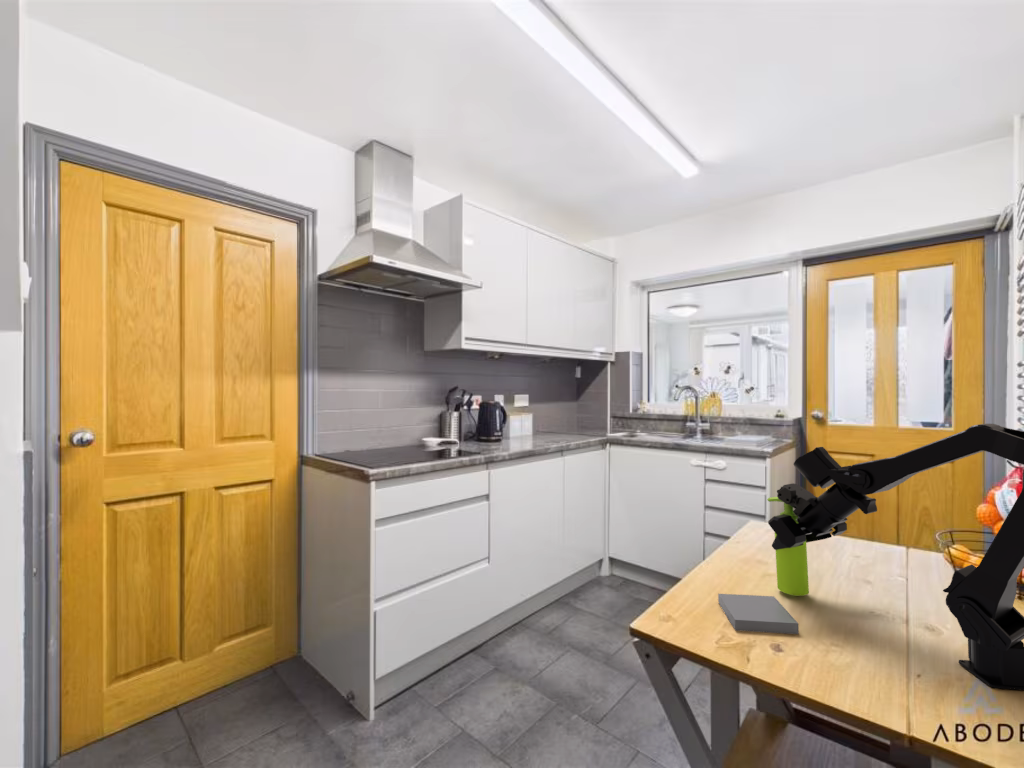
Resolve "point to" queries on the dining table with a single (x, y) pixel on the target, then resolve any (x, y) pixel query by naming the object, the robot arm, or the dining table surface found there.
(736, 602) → the slate stand
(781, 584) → the soap dispenser
